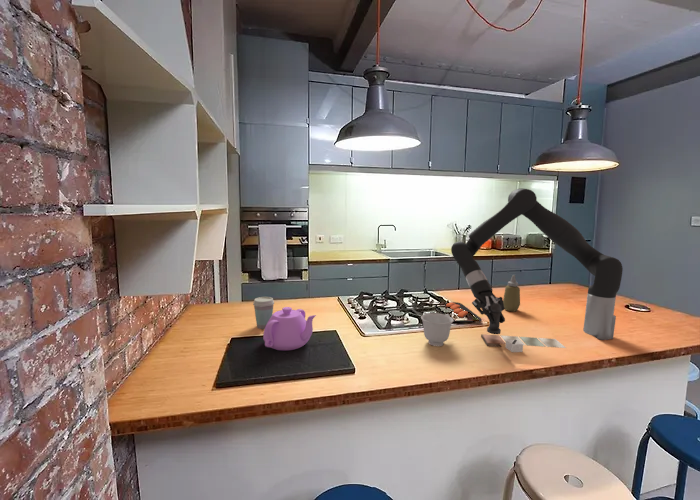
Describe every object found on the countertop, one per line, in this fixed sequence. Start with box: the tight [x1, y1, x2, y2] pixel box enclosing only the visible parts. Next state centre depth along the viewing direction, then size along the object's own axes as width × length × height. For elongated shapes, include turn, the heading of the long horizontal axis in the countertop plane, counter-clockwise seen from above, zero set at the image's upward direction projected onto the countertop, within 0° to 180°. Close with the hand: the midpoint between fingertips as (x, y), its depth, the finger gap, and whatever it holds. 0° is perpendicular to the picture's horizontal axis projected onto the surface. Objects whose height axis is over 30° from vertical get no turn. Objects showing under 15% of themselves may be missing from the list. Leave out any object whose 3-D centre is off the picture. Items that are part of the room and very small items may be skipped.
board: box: [480, 333, 567, 349], centre depth 130 cm, size 28×9×1 cm, turn 83°
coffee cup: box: [252, 296, 275, 330], centre depth 142 cm, size 8×9×12 cm
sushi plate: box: [429, 301, 483, 323], centre depth 165 cm, size 29×30×4 cm
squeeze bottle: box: [502, 274, 521, 312], centre depth 171 cm, size 8×8×18 cm
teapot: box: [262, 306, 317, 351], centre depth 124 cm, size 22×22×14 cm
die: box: [505, 340, 524, 353], centre depth 122 cm, size 4×4×4 cm
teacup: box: [420, 312, 455, 347], centre depth 130 cm, size 12×15×10 cm
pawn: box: [486, 303, 502, 335], centre depth 130 cm, size 5×5×12 cm
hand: (498, 322), depth 129 cm, fingers closed on pawn, 3 cm apart
